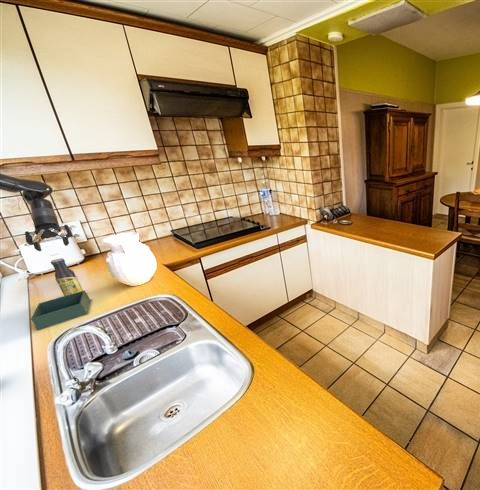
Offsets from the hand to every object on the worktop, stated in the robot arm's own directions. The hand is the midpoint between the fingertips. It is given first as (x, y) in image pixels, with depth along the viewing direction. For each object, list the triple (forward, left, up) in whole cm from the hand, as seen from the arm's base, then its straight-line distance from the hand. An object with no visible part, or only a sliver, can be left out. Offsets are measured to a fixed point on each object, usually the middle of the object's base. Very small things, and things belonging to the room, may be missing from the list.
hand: (53, 247), depth 123 cm
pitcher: (+25, -12, -24) cm, 36 cm away
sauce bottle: (+1, -9, -24) cm, 25 cm away
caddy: (-1, -24, -23) cm, 34 cm away
